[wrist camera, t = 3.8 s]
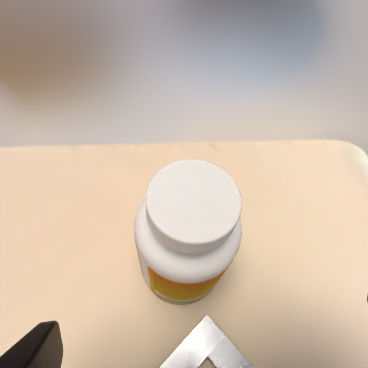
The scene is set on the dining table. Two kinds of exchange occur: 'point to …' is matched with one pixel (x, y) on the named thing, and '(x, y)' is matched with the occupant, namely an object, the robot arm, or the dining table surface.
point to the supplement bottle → (187, 230)
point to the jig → (206, 349)
